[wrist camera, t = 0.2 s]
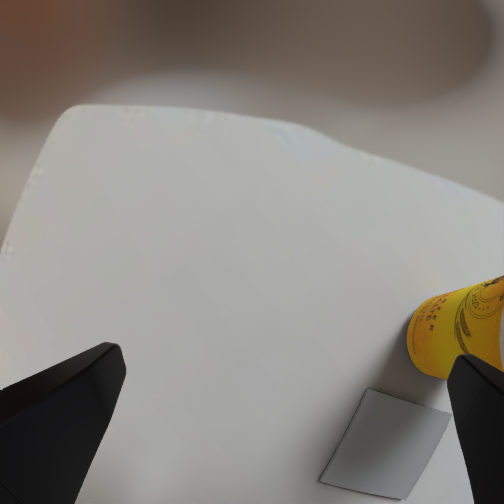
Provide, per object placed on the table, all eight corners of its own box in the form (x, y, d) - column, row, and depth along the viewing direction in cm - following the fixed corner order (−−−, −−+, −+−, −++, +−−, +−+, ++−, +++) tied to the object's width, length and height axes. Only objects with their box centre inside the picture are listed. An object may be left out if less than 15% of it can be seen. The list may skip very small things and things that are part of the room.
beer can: (452, 284, 21) (594, 225, 7) (475, 351, 20) (620, 348, 5) (391, 317, 21) (535, 286, 7) (416, 389, 20) (559, 435, 5)
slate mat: (403, 497, 17) (405, 499, 17) (319, 478, 18) (320, 481, 18) (449, 413, 19) (452, 414, 18) (367, 388, 20) (368, 389, 20)
